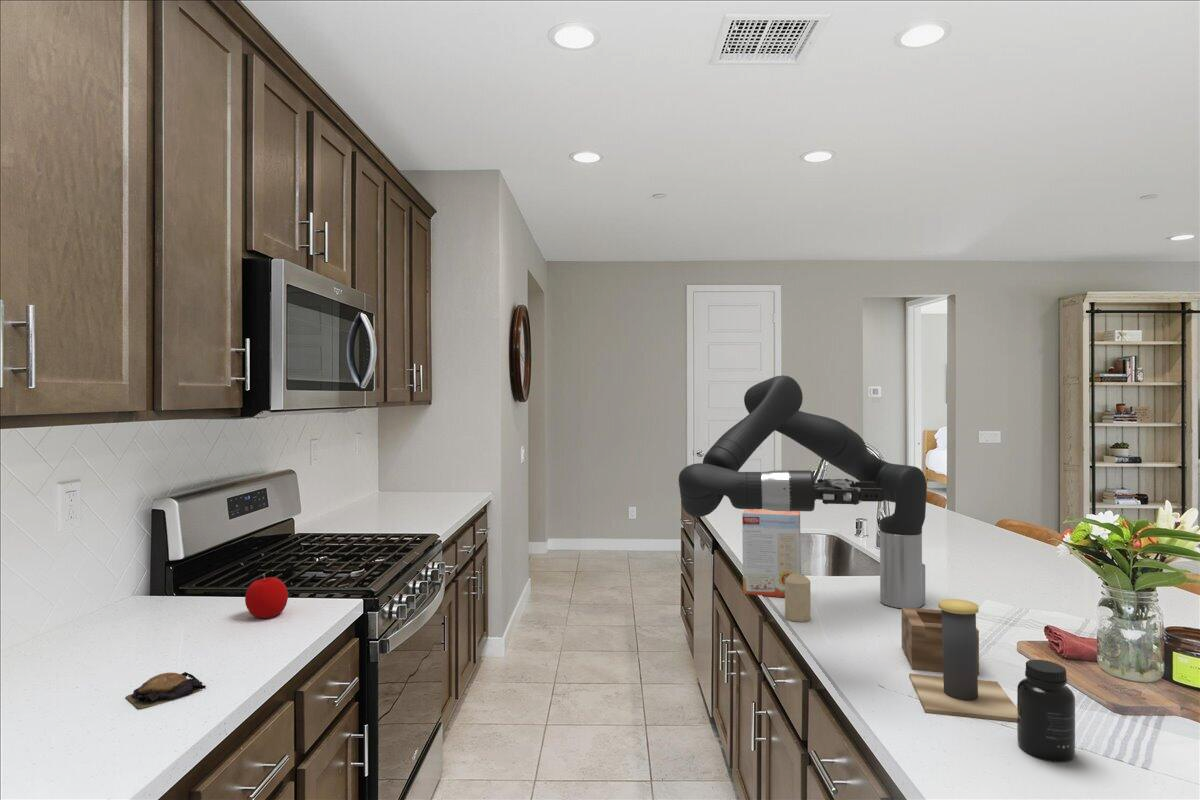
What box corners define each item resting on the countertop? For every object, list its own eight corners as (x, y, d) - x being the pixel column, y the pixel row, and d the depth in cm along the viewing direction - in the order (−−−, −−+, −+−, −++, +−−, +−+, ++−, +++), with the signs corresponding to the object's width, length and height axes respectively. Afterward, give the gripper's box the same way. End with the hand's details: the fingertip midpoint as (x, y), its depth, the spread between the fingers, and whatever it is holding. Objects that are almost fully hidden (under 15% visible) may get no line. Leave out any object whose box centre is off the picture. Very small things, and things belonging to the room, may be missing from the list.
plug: (959, 684, 116) (956, 597, 116) (989, 697, 110) (986, 606, 110) (933, 690, 114) (930, 601, 114) (962, 704, 108) (960, 611, 108)
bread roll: (138, 715, 109) (138, 692, 109) (123, 699, 114) (122, 678, 114) (210, 692, 117) (210, 671, 117) (193, 679, 122) (192, 659, 122)
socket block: (901, 647, 134) (901, 607, 134) (962, 652, 132) (962, 611, 132) (911, 669, 124) (911, 625, 124) (978, 675, 121) (978, 630, 121)
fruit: (238, 616, 156) (238, 572, 156) (279, 607, 163) (278, 565, 163) (254, 625, 150) (253, 580, 150) (295, 615, 157) (295, 572, 156)
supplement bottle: (1006, 739, 99) (1005, 656, 98) (1050, 737, 99) (1050, 655, 99) (1040, 765, 92) (1040, 676, 92) (1087, 762, 92) (1087, 674, 92)
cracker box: (801, 593, 172) (801, 510, 172) (800, 599, 166) (799, 514, 166) (745, 588, 177) (744, 507, 176) (742, 594, 171) (741, 511, 171)
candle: (811, 623, 149) (811, 577, 149) (785, 621, 150) (785, 576, 150) (809, 615, 155) (809, 571, 155) (784, 613, 156) (784, 570, 156)
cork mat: (908, 676, 120) (908, 673, 120) (997, 685, 117) (997, 681, 117) (925, 712, 107) (925, 708, 107) (1025, 722, 103) (1025, 719, 103)
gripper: (787, 475, 119) (886, 475, 116) (785, 466, 133) (873, 466, 129) (788, 518, 120) (887, 519, 116) (786, 504, 133) (874, 505, 129)
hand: (880, 491), depth 123 cm, fingers open, 8 cm apart
